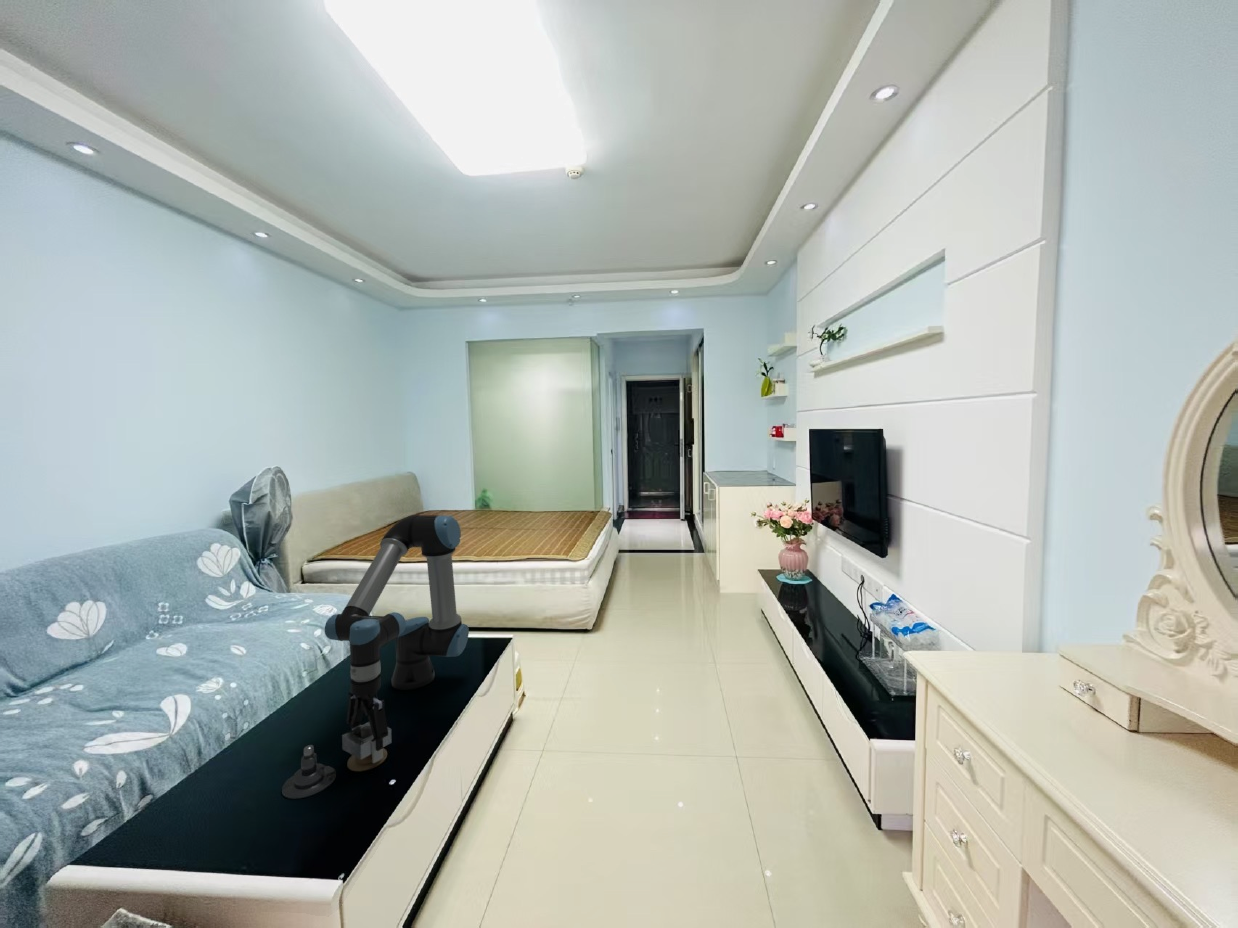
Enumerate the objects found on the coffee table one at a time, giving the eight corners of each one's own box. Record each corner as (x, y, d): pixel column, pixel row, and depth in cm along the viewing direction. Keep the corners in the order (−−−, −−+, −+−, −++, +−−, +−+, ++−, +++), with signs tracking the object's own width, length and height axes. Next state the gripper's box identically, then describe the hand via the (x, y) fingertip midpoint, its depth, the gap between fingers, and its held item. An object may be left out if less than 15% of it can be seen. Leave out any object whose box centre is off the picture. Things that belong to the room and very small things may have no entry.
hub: (321, 762, 137) (320, 729, 136) (345, 777, 130) (344, 742, 130) (273, 788, 126) (272, 752, 126) (296, 805, 120) (295, 767, 120)
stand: (373, 744, 145) (373, 715, 144) (394, 755, 139) (393, 725, 139) (339, 763, 136) (339, 732, 136) (360, 775, 131) (359, 743, 131)
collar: (373, 733, 144) (372, 719, 144) (391, 742, 139) (391, 728, 139) (342, 749, 136) (342, 735, 136) (360, 759, 131) (360, 745, 131)
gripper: (331, 672, 139) (333, 749, 140) (375, 691, 128) (377, 775, 129) (356, 662, 146) (358, 736, 147) (401, 680, 135) (403, 759, 135)
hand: (367, 754), depth 138 cm, fingers closed on collar, 9 cm apart
